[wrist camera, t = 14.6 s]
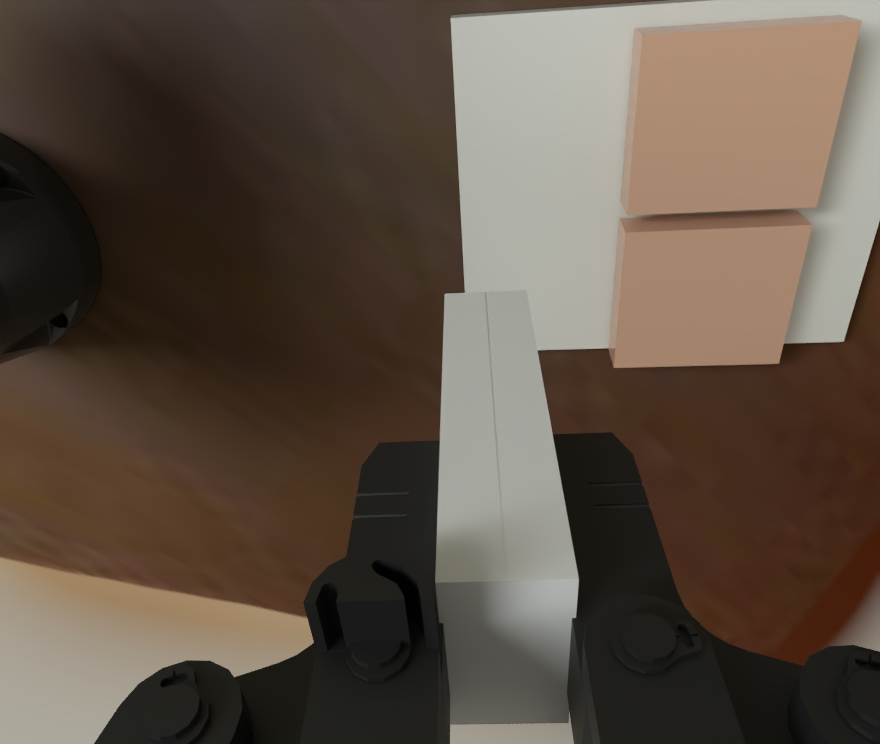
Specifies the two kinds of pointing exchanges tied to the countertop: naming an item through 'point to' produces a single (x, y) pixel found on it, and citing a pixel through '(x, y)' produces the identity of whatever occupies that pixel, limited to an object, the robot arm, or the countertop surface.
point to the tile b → (734, 113)
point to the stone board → (602, 155)
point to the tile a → (705, 288)
